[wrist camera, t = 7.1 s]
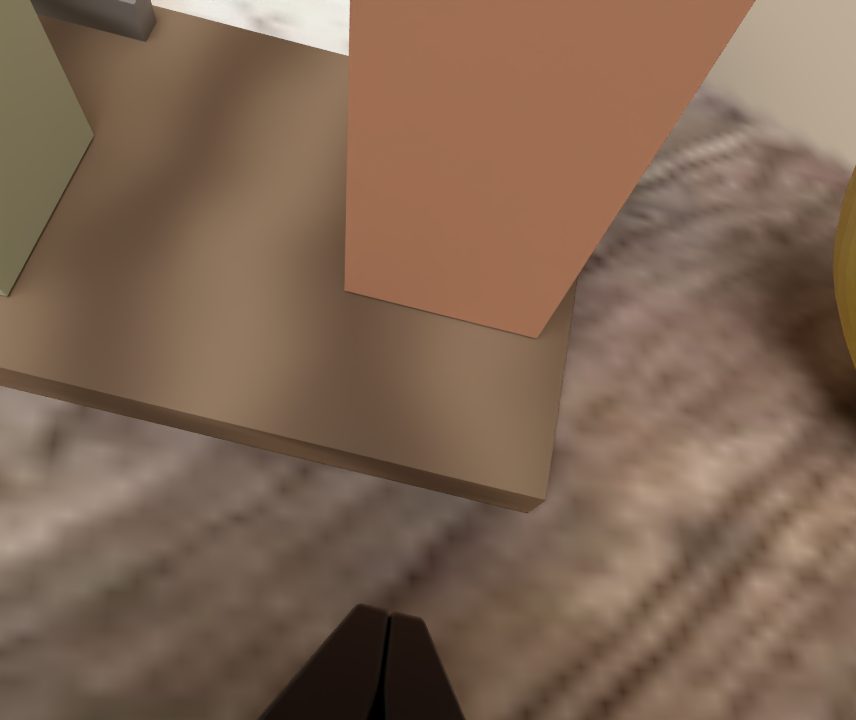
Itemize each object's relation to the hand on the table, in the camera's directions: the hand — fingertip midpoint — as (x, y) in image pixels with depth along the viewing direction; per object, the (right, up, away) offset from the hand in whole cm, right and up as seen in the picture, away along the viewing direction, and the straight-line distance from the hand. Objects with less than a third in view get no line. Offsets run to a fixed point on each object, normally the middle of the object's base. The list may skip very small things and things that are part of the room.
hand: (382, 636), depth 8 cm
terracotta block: (+2, +8, +13) cm, 15 cm away
